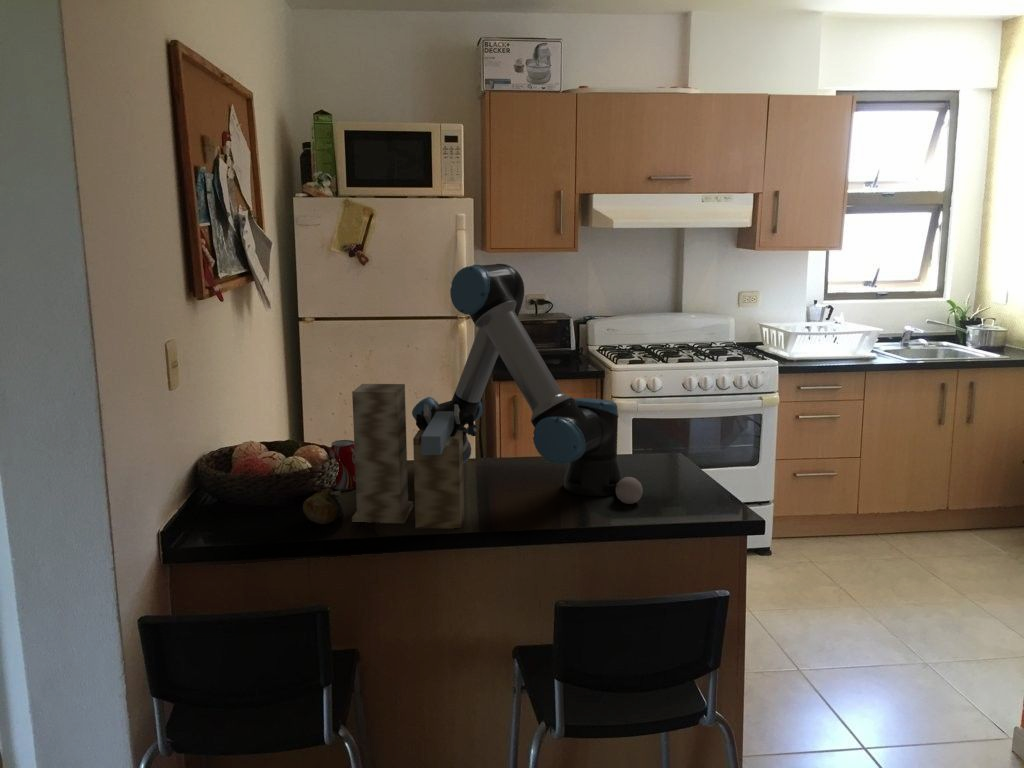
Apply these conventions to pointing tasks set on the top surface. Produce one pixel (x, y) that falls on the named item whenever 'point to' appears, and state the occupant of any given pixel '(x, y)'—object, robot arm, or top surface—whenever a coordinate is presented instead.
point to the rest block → (439, 484)
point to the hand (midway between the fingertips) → (440, 409)
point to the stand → (380, 453)
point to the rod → (437, 433)
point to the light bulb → (629, 490)
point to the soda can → (344, 464)
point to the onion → (321, 506)
